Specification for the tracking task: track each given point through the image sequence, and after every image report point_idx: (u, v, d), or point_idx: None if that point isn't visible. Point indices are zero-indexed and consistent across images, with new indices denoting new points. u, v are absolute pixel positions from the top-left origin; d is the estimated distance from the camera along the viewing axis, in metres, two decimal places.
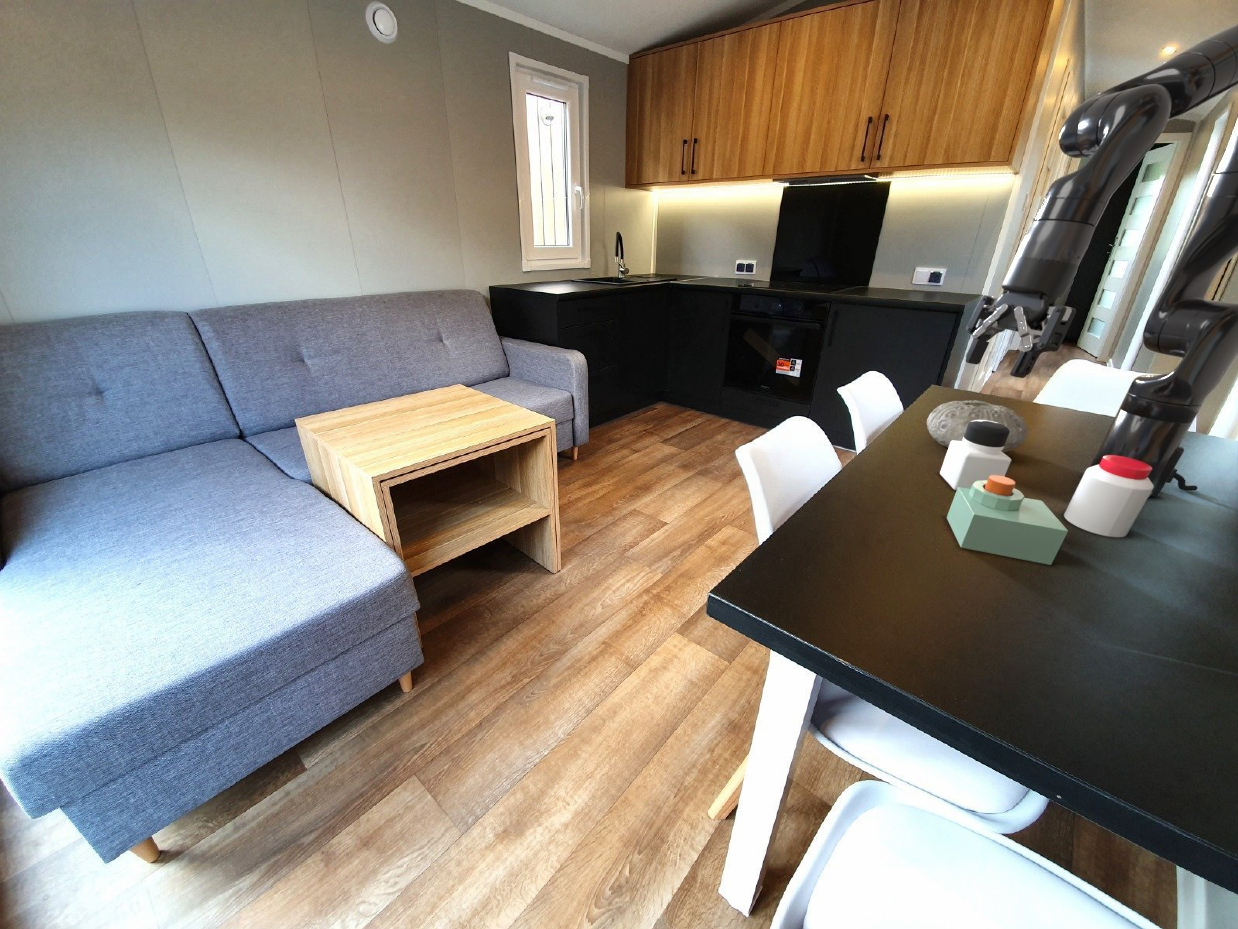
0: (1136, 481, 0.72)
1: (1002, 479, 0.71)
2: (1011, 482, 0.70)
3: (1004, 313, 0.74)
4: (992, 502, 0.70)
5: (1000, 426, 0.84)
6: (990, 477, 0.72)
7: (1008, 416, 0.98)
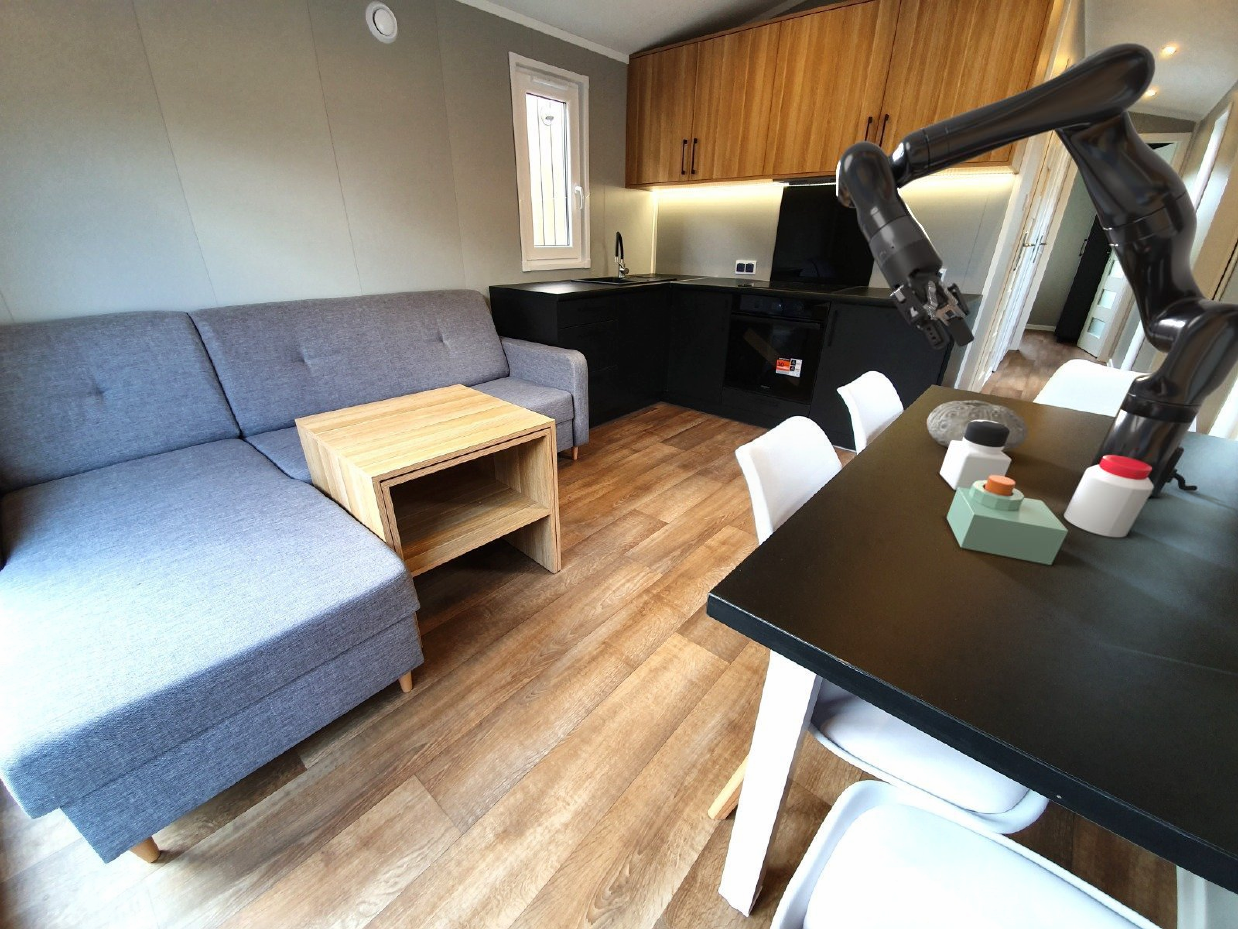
0: (1136, 481, 0.72)
1: (1002, 479, 0.71)
2: (1011, 482, 0.70)
3: None
4: (992, 502, 0.70)
5: (1000, 426, 0.84)
6: (990, 477, 0.72)
7: (1008, 416, 0.98)
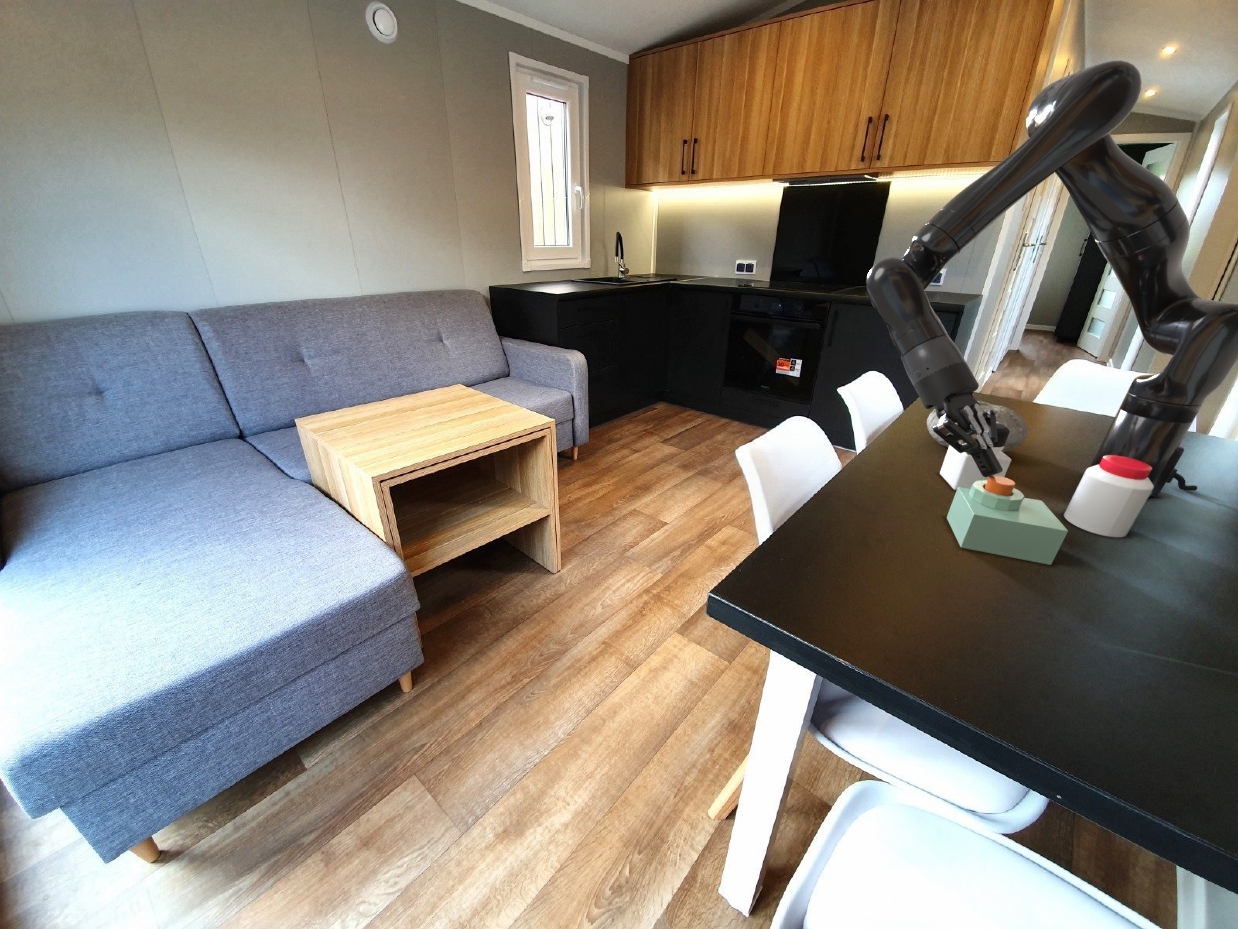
0: (1136, 481, 0.72)
1: (1002, 480, 0.71)
2: (1010, 482, 0.71)
3: None
4: (992, 502, 0.70)
5: (1000, 426, 0.84)
6: (990, 478, 0.72)
7: (1008, 416, 0.98)
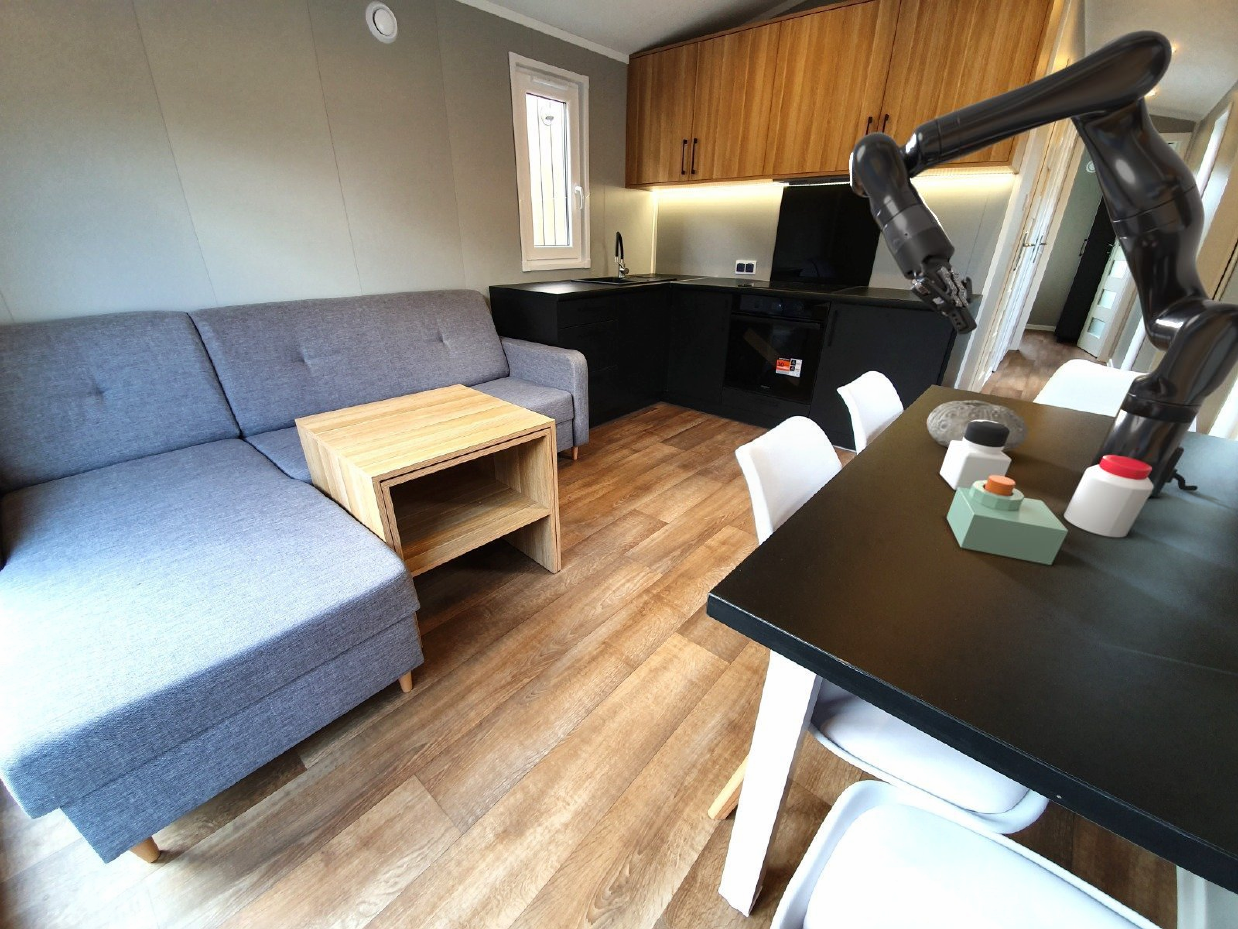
0: (1136, 481, 0.72)
1: (1002, 479, 0.71)
2: (1011, 482, 0.70)
3: None
4: (992, 502, 0.70)
5: (1000, 426, 0.84)
6: (990, 477, 0.72)
7: (1008, 416, 0.98)
